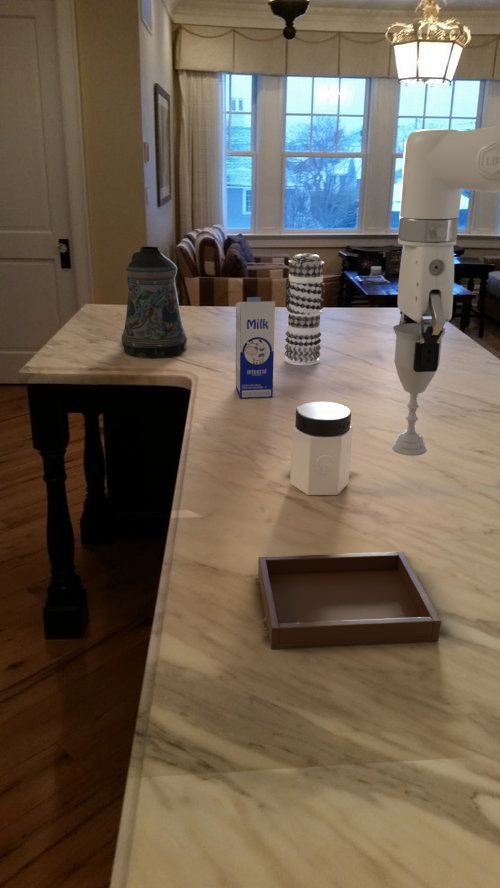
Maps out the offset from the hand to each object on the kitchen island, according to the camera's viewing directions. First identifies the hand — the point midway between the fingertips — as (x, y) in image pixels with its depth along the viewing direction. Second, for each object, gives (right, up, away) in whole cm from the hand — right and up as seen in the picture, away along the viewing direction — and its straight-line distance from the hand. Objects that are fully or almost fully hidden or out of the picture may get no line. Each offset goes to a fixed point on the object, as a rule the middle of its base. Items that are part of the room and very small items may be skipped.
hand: (416, 362), depth 99 cm
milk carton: (-23, -1, +49) cm, 54 cm away
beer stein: (-49, +12, +80) cm, 94 cm away
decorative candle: (-11, +9, +72) cm, 73 cm away
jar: (-13, -18, +9) cm, 24 cm away
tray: (-13, -30, -20) cm, 38 cm away
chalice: (0, -12, +5) cm, 13 cm away
